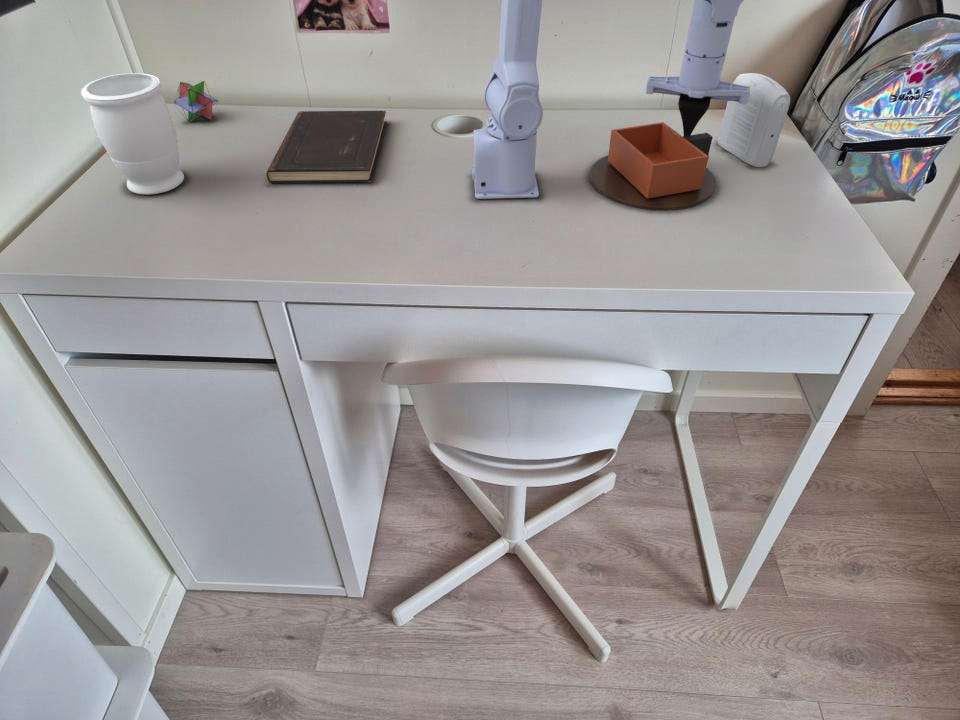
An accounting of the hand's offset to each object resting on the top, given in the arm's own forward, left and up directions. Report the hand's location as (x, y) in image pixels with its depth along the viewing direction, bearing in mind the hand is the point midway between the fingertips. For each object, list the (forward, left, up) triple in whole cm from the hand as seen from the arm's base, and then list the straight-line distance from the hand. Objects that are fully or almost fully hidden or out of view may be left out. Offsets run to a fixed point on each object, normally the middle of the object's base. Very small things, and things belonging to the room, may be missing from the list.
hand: (685, 143), depth 102 cm
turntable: (-6, -4, -4) cm, 8 cm away
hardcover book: (-57, +9, -4) cm, 57 cm away
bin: (-4, -3, -3) cm, 6 cm away
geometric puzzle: (-83, +24, -4) cm, 86 cm away
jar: (-83, -1, -4) cm, 83 cm away
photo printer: (+11, +4, -4) cm, 13 cm away
